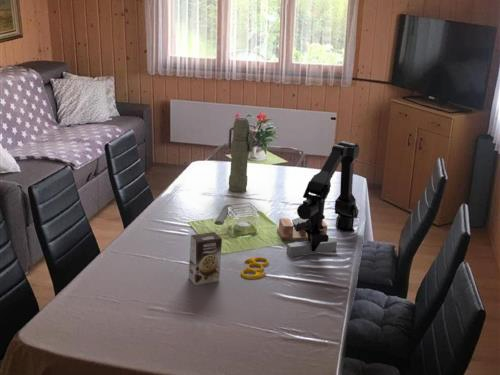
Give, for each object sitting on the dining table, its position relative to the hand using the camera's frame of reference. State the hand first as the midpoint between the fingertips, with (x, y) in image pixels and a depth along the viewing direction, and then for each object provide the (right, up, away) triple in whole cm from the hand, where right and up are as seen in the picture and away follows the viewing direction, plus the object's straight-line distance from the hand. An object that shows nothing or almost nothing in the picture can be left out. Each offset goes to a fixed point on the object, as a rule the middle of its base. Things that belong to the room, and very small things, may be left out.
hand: (311, 249), depth 233 cm
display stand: (-3, +4, +14) cm, 15 cm away
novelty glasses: (-22, -6, -16) cm, 28 cm away
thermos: (-30, +22, +61) cm, 71 cm away
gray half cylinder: (-35, +11, +30) cm, 47 cm away
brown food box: (-40, -8, -26) cm, 48 cm away
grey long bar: (0, -1, 0) cm, 1 cm away
